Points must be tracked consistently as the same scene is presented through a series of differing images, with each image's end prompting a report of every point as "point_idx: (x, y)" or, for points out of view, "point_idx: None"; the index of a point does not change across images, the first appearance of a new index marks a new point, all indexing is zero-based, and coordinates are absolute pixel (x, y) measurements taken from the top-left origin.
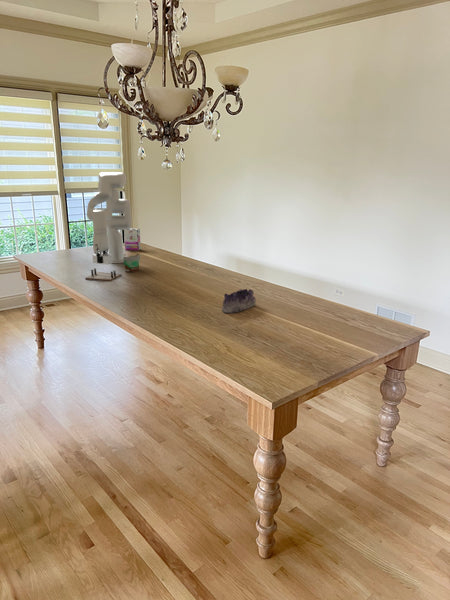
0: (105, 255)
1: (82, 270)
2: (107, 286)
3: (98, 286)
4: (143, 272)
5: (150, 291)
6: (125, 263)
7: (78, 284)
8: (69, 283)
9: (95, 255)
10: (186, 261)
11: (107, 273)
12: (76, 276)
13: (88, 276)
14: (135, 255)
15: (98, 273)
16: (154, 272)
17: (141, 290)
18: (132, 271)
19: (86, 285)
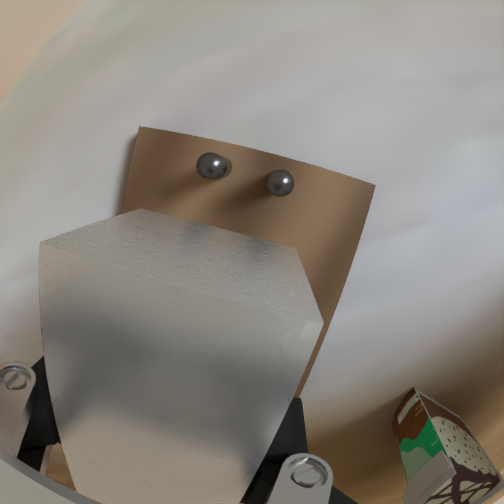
0: (108, 496)
1: (451, 29)
2: (37, 345)
3: (20, 294)
4: (375, 469)
5: (65, 481)
6: (425, 440)
7: (29, 141)
8: (50, 67)
9: (46, 336)
10: (493, 497)
11: (314, 297)
12: (251, 13)
13: (180, 139)
14: (495, 479)
15: (312, 205)
16: (364, 499)
17: (59, 464)
18: (394, 430)
19: (18, 209)
